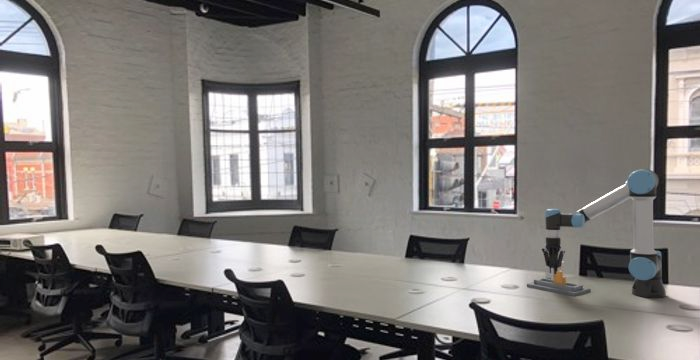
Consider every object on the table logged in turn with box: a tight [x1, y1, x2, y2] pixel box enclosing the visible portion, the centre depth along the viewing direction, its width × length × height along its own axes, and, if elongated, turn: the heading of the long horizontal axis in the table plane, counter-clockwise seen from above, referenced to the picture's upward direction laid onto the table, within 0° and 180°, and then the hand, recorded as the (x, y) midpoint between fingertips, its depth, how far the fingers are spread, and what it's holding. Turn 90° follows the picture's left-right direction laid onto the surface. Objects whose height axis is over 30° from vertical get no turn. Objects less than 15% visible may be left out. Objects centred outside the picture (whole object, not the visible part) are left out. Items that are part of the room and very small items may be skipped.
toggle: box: [553, 271, 567, 285], centre depth 270 cm, size 5×4×8 cm
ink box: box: [544, 260, 565, 279], centre depth 288 cm, size 9×8×13 cm
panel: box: [526, 277, 592, 297], centre depth 270 cm, size 28×16×4 cm, turn 36°
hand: (553, 279), depth 272 cm, fingers closed
